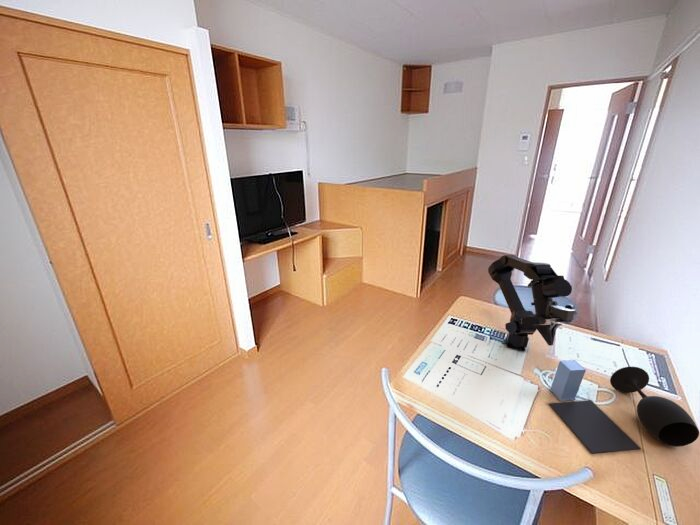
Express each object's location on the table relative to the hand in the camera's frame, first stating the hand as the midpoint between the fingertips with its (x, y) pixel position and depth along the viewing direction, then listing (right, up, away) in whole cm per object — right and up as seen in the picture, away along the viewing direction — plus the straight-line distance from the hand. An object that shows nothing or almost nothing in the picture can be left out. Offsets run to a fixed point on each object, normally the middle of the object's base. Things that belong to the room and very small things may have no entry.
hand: (550, 345), depth 102 cm
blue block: (+1, -15, -5) cm, 15 cm away
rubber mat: (+2, -19, -15) cm, 24 cm away
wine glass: (+22, -9, -5) cm, 24 cm away
